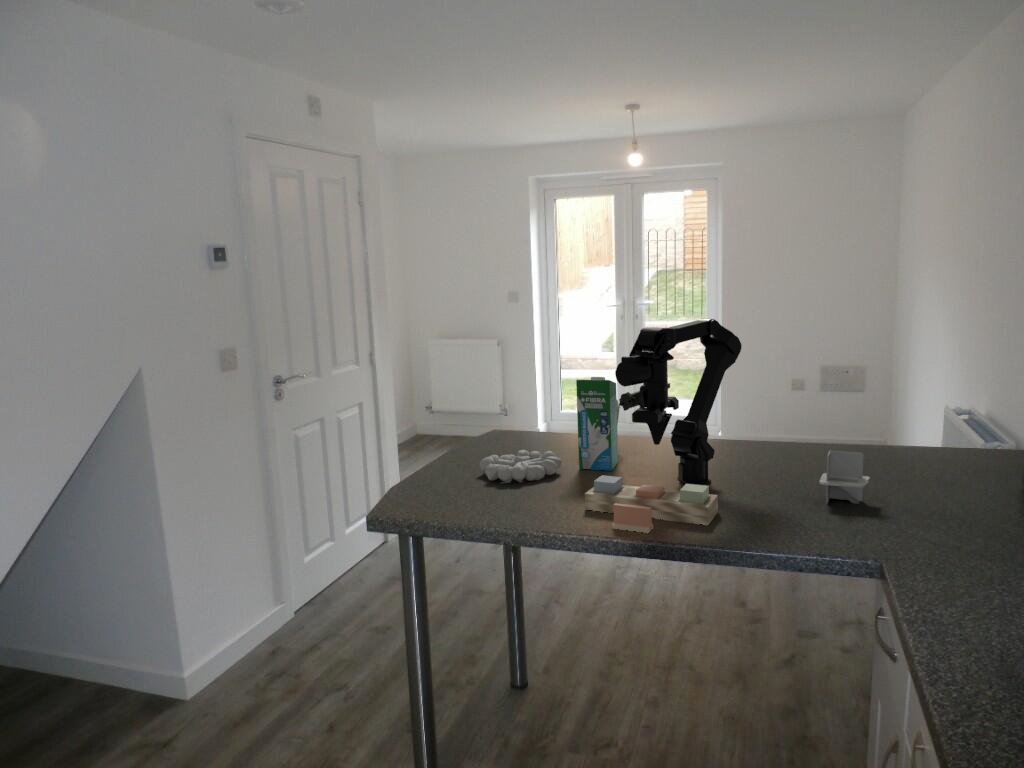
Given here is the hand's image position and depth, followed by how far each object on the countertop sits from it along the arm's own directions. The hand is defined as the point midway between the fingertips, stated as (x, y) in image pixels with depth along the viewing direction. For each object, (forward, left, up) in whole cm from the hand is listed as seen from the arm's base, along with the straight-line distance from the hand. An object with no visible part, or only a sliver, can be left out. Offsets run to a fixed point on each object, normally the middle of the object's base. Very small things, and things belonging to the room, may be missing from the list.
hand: (656, 444), depth 182 cm
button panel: (+7, +13, -12) cm, 19 cm away
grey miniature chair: (-36, +21, -13) cm, 44 cm away
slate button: (+15, +6, -8) cm, 18 cm away
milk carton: (+6, -27, -12) cm, 30 cm away
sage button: (-1, +19, -8) cm, 21 cm away
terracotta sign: (+15, +22, -12) cm, 29 cm away
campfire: (+28, -27, -12) cm, 41 cm away
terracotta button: (+7, +13, -10) cm, 17 cm away
